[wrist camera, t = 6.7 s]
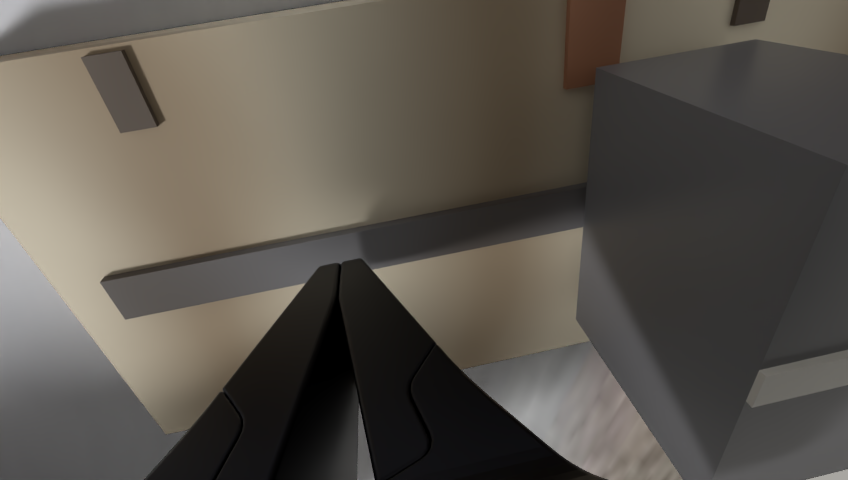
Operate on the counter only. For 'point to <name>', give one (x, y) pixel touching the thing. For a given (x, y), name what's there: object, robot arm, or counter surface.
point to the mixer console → (332, 168)
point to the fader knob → (724, 255)
